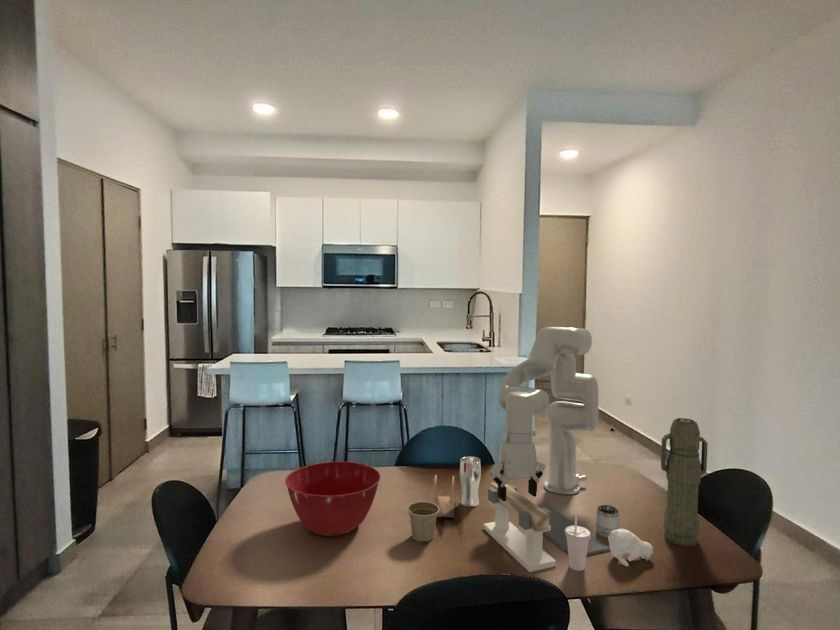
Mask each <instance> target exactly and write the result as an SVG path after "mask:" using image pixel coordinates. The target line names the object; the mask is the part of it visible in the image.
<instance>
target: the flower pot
mask: <svg viewBox="0 0 840 630" xmlns="http://www.w3.org/2000/svg"><path fill="white" fill-rule="evenodd" d="M406 510H407V512H408V516H409V520H410V521H409V522H410V527H411V536H412V539H414V541H417V542H426V543H427V542H430V541H431V540H433V539H434V537H435V529H436V522H437V516H438V515H439V512H440V506H439V505H438V504H437V503H434V502H429V501H417V502H412V503H410V504H409V505H408V506H407V507H406Z"/></svg>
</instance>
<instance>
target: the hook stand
mask: <svg viewBox="0 0 840 630" xmlns="http://www.w3.org/2000/svg"><path fill="white" fill-rule="evenodd" d="M508 485H509V486H510V487H511V488H513V489H514V490H516V491H517V492H518V487H517V486H515V485H514V484H512V483H511V484H508ZM487 505H488V506H489V507H491V509H493V510H494V509H495V512H494V513H495V514H494V515H495V516H494V520H495V521H491V522H487V523H485V522H484V523H483V529H484V531H486V532H487V534H489V535H490V536H491V537H492V538H493V539H494V540H495V541H496V542H497V543H498V544H499V545H500V546H502V548H503V549H504V550H506V551H507V552H508V553H509V554H510V556H512V557H513V558H514V559H515V560H516V561H517V562H518V563H519V564H520V565H521V566H522V567H524V568H525V569H526V570H527V571H528V573H532V572H537V571H541V570H544V569H550V568H555V567H556V566H557V563H556V562H557V561H556V560H555V559H554V558H553V556H551V555H550V554H549V553H548V552H546V551H545V550H544V549H543V542H544V541H543V538H544V537H543V535H544V534H543V532H545V531H550V530H551V512H550V511H549V510H547V509H546V508H545V507H544V508H541V509H542V510H543V511H545V512H546V513H548V514H549V530H544V531H539V532H535V531H534V530H532V529H531V528H530V516H529V515H528V514H527V513H525V512H524V511H522V512H519V518H518V527H517V526H515V525H514V524H513V523H512V522H511V521H510V511H509V510H508V509H506V508H505V507H504V506H503V505H501V504H500V503H499V502H498V491H497V490H496V489H494V488H493V487H491V486H490V487H488V489H487Z"/></svg>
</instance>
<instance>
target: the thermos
mask: <svg viewBox="0 0 840 630" xmlns="http://www.w3.org/2000/svg"><path fill="white" fill-rule="evenodd" d="M698 425H699V424H698V422H697V421H694V420H693V419H690V418H685V417H684V418H682V417H679V418H674V419H673V421H672V423H671V425H670V427H669V433H667V434H664V435H663V437H662V438H661V452H660V453H661V454H660V468H661V471H664V472H666V474H665V478H666V480H667V492H666V493H667V494H666V495H667V497H666V510H665V511H664V517H663V518H664V521H663V527H664V538H665V539H666V540H667V541H668V542H670V543H672V544H675V545H677V546H680V547H681V546H682V547H694V546H697V545H698V543H699V541H698V540H699V539H698V537H699V532H700V519H699V516H698V508H699V507H698V505H699V503H698V502H699V485H700V483H701V481H702V480H701V478H702V477H701V476H702V475H704V474H705V473H707V469H708V468H707V464H708V463H707V462H708V442H707V440H706V439H705V438H704V437H702V436H701V431H700V428H699V426H698ZM668 440H669V446H670V447H669V448H670V449H669V450H668V451H669V452H668V455H667V441H668ZM700 442H701V454H700V453H699V450H700ZM700 455H701V457H700ZM700 458H701V460H700Z"/></svg>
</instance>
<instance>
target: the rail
mask: <svg viewBox="0 0 840 630" xmlns="http://www.w3.org/2000/svg"><path fill="white" fill-rule="evenodd" d="M509 485H510V484H507V483H506V485H505V487H506V501H502V500H501V499H500V498H499V497H498V502H499V503H500V504H501V505H503V506H504V507H505V508H506V509H508V510H509V513H511V514H513V515H514V516H515V517H517V519H519V512H522V511H524V512H525V513H527V514H528V515H529V516H530V528H531V529H532V530H534V531H535V532H539V531H544V530H549V514H548V513H546V512H545V511H543V510H542V509H541V508H539V507H538V505H536V504H535V503H534V502H532V501H531V500H530V499H528V498H527V497H525V496H524V495H523V494H521V492H518V490H517V491H516V490H514V489H513V488H511V487H510V486H509ZM491 487H493V488H494V489H496V490H497V491H498V484H497V483H496V482H495V481H494V482H491V483H490V488H491Z"/></svg>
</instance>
